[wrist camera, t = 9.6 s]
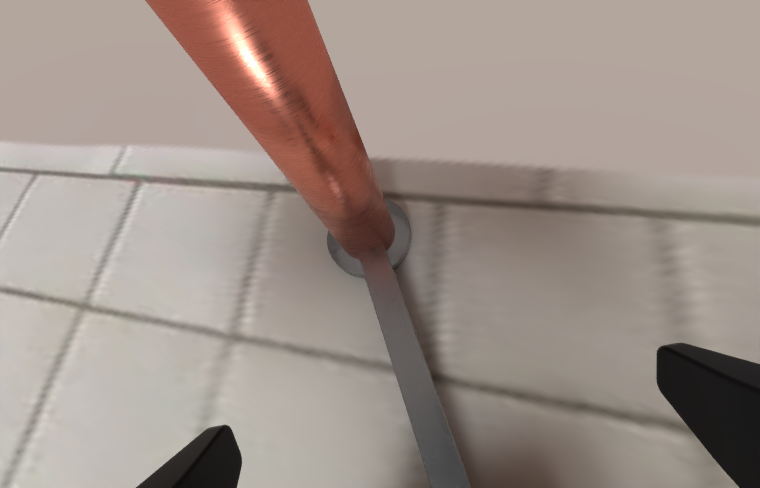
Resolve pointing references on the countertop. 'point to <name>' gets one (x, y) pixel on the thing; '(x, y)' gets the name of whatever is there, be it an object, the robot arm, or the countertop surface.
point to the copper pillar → (320, 171)
